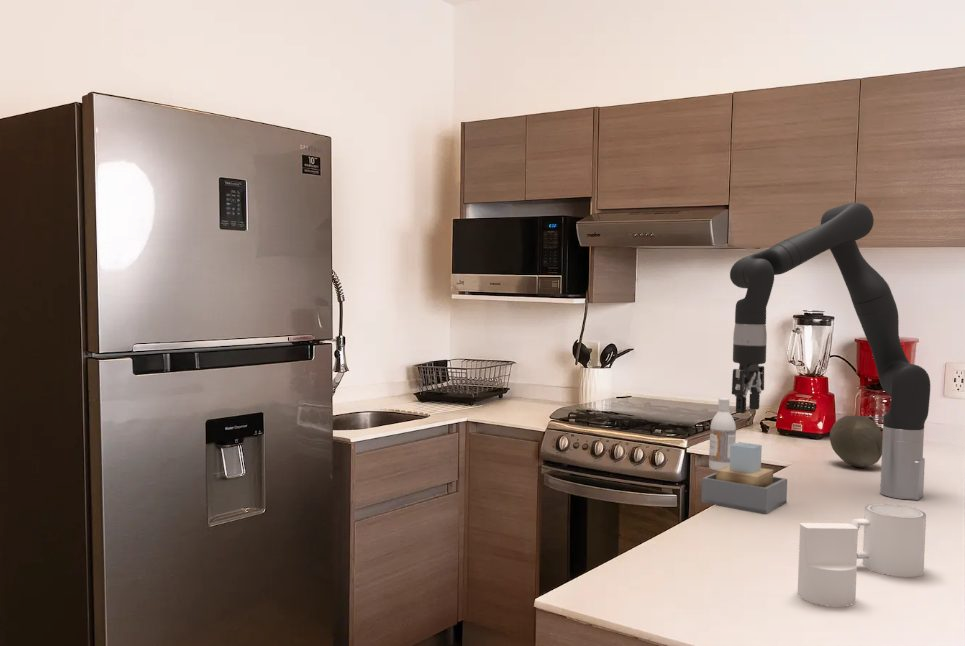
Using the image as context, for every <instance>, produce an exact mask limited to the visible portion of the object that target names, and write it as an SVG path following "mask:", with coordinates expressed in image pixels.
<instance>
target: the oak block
mask: <svg viewBox="0 0 965 646" xmlns="http://www.w3.org/2000/svg"><path fill="white" fill-rule="evenodd" d="M716 472H717V473H716ZM716 472H715V473H716V480H722V481H728V482H734V483H740V484H746V485H752V486H758V487H764V488H765V487H767V486H769V485H771V484H773V477H774V469H771V468H770V469H769V468H762V467H761V470H760V471H757V472H755V473H753V474H751V473H744V472H738V471H732V470H730V465H729V466H726V467H724V468H721V469H719V470H716Z"/></svg>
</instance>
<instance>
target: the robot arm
mask: <svg viewBox="0 0 965 646" xmlns="http://www.w3.org/2000/svg"><path fill="white" fill-rule="evenodd" d="M873 227H874V215H873V212H872V211H871V209H870V208H869V207H868V205H866V204H863V203H860V202H848V203H846V204H842V205H839V206H836V207H833V208H829V209H828V210H826V211H825V212H824V213H823V214H822V216H821V218H820V225H818V226H816V227H813V228H811V229H808V230H806V231H802V232H800V233H798V234H795V235H793V236H790V237H788V238H785V239H783V240H781V241H780V242H778V243H776V244H774V245H772V246H770V247H769V248H766V249H764V250H761V251H757V252H756V253H752V254H749V255H747V256H745V257H744V256H743V257H742V258H740V259H739V260H737V261H736V262H734V264H733V265H732V266H731V267H730V271H729V279H730V281H731V282H732V284H733V285H734V286H735V287H738V288H740V289H747V290H746V293H745V296H744V297H743V298H741V299H739V300H737V301H736V302H735V303H736V304H735V311H734V329H733V338H732V339H733V340H732V341H733V342H732V362H733V363H736V364H739V366H738V368H733V370H732V378H731V379H732V381H731V395H734V397H735V412H736V413H737V414H746V412H747V395H748V391H749V392H750V393H749V401H748V403H749V405H748V408H749V409H750V410H754V411H755V410H759V409H760V399H761V397H760V396H761V395H760V394H762V391H764V390H765V366H764V365H763V364H765V363H766V361H767V338H768V337H767V335H768V334H767V306H768V303H769V300H770V299H771V298H770V296H771V293H772V289H773V286H774V282H775V276H779V275H782V274H785V273H787V272H790V271H791V270H794V269H795V268H797V267H799V266H800V265H802V264H804V263H806V262H808V261H809V260H812V259H813V258H815V257H817V256H819V255H820V254H822V253H824V252H826V251H828V250H830V252H831V254H832V256H833V259H834V260H835V263H836V264H837V266H838V268H839V270H840V273H841V276H842V279H843V281H844V284H845V286H846V288H847V291H848V294H849V295H850V296H849V297H850V300H851V302H852V306H853V308H854V310H855V313H856V315H857V318H858V320H859V322H860V325H861V328H862V331H863V333H864V336H865V337H866V340H867V343H868V345H869V347H870V350H871V353H872V357H873V361H874V364H875V368H876V372H877V377H878V380H879V383H880V386H881V388H882V389H883V391H884V392H885V394H887V395H888V396H890V404H889V405H890V407H889V409H888V412H886V413H885V414H884V415H883V417H882V419H883V420H882V435H883V439H882V456H881V461H880V462H881V463H880V464H881V467H880V470H881V471H880V484H879V485H880V490H879V492H880V494H881V495H883V496H885V497H889V498H895V499H900V500H915V501H919V500H920V499H921V498H922V497H924V490H925V488H924V485H925V482H924V481H925V463H926V460H925V458H924V438H925V423H926V420H927V419H928V416H929V410H930V401H931V400H930V398H931V379H930V376H929V373H928V371H926V369H925V368H923V367H922V366H919V365H916V364H913V363H910V362H909V360H908V358H907V356H906V353H905V351H904V348H903V346H902V343H901V339H900V335H899V333H900V332H899V324H900V323H899V322H900V321H899V319H900V318H899V311H898V307H897V302H896V301H895V298H894V295H893V293H892V290H891V288H890V285H889V283H888V282H887V281H886V279H884V278H883V276H882V275H881V274H880V273H879V272H878V271H877V270H876V269H875V268H873V266H871V265H870V263H868V262H867V260H866V259H865V258H864V257H863V255H862V253H861V251H860V249H859V247H858V244H857V240H861V239H863V238H865V237H866V236H868V234H869V233H870V232H871V231H872V229H873Z"/></svg>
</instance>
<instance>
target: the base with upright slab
mask: <svg viewBox="0 0 965 646" xmlns="http://www.w3.org/2000/svg"><path fill="white" fill-rule="evenodd" d="M858 537H859V530H858V528H857V527H856V526H854V525H852V524H851V523H842V522H840V523H838V522H837V523H835V522H832V523H831V522H829V523H828V522H825V523H823V522H817V523H816V522H800V523H799V545H798V546H799V547H798V549H799V551H798V566H797V567H798V569H797V570H798V573H797V595H798V596H800V597H799V598H801V597H802V598H803V599H802V598H801V599H802V600H804V599H805V601H806V600H807V602H808V601H810V602H809V603H811V602H813V604H814V603H816V604H815V605H818V604H821V605H820V606H823V605H828V606H827V607H830V606H846V607H848V606H847V605H851V604H853V605H854V604H855V603H856V594H857V593H856V592H857V569H858V565H857V563H858V562H857V561H858V559H857V552H858V539H859V538H858ZM851 606H852V605H851Z"/></svg>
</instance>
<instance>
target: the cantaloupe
mask: <svg viewBox="0 0 965 646" xmlns="http://www.w3.org/2000/svg"><path fill="white" fill-rule="evenodd" d="M881 430H882V429H881V428H880V427H879V425H878V424H877V423H876V422H875V420H873V419H871V418H870V417H867V416H864V415H845V416H843V417H841V418H839V419H838V420H837V421H835V422H834V423H833V425H832V427H831V429H830V431H829V442H830V446H831V449H832V450H833V451H834V453H835V454H836V455H837V457H838V458H840V459H841V460H842V461H843V462H845V463H846V464H848V465H850V466H852V467H856V468H861V469H862V468H863V469H865V468H867V467H870V466H872V465H875V464H877V463H878V462H879V461H880V459H882V439H883V431H881Z"/></svg>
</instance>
